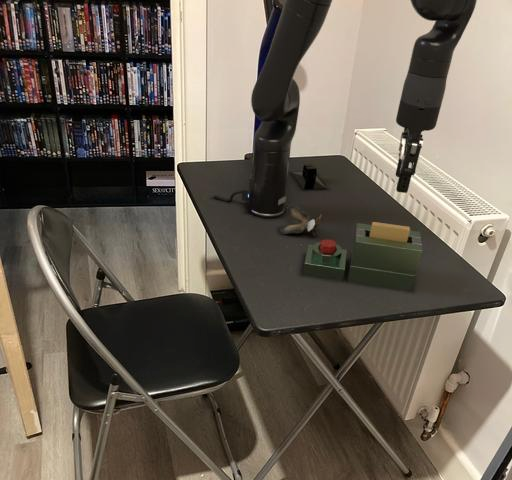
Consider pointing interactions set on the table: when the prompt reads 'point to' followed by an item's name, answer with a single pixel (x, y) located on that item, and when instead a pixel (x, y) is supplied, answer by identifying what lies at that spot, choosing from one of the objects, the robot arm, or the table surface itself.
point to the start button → (327, 246)
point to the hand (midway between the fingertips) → (401, 183)
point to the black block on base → (308, 178)
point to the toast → (389, 232)
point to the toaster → (384, 260)
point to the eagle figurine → (302, 218)
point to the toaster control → (325, 263)
